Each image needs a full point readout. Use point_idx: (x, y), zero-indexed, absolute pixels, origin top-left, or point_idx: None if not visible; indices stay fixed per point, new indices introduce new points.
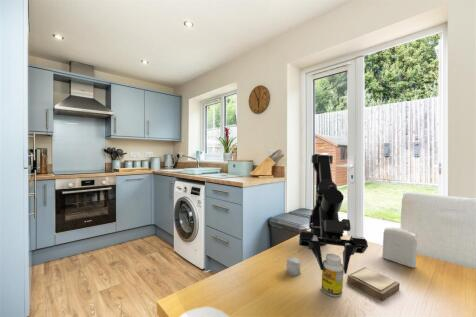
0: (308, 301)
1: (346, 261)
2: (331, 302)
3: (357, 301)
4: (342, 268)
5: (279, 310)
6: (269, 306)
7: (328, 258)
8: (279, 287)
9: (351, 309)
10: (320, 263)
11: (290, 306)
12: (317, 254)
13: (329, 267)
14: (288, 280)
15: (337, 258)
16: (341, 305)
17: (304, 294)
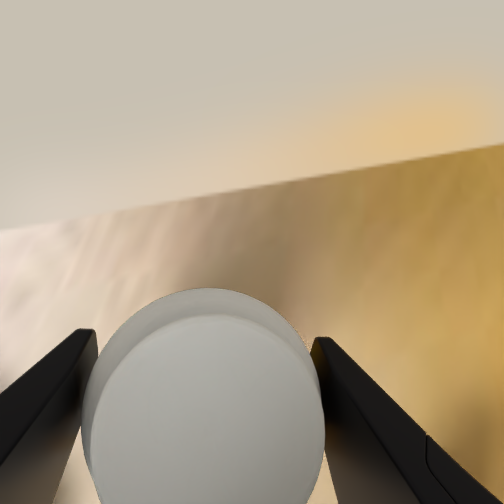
0: (342, 245)
1: (12, 417)
2: (225, 263)
3: (63, 308)
4: (116, 331)
5: (458, 162)
6: (499, 177)
7: (298, 355)
8: (487, 327)
9: (129, 229)
10: (356, 367)
11: (419, 193)
12: (442, 453)
13: (266, 309)
14: (452, 417)
15: (159, 384)
16: (175, 250)
17: (360, 298)
